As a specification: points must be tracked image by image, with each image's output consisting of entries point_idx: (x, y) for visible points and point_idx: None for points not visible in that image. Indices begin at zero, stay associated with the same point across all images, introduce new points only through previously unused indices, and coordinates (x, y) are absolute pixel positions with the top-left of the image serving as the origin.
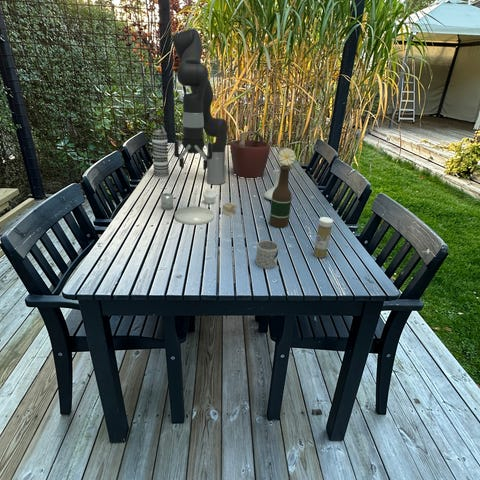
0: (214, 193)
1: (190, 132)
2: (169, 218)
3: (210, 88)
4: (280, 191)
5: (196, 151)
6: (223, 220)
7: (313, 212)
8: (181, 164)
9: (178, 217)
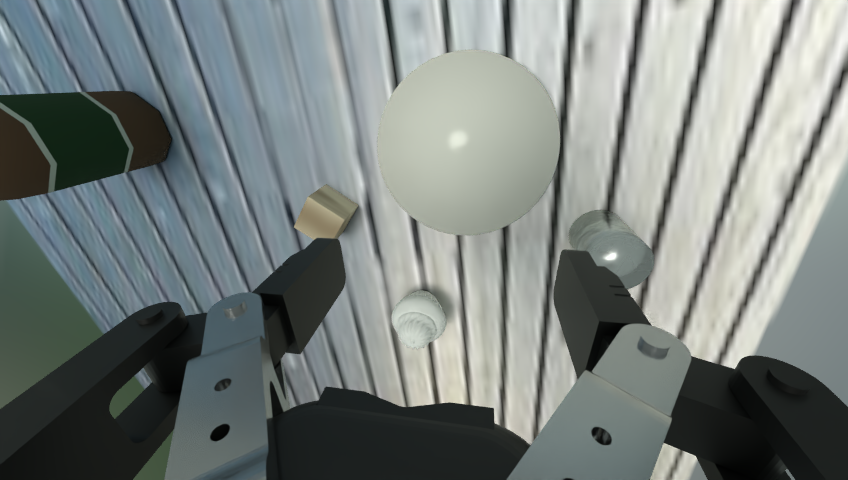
0: (397, 322)
1: None
2: (582, 115)
3: None
4: None
5: (316, 432)
6: (339, 133)
7: (89, 249)
8: (595, 274)
9: (537, 91)
